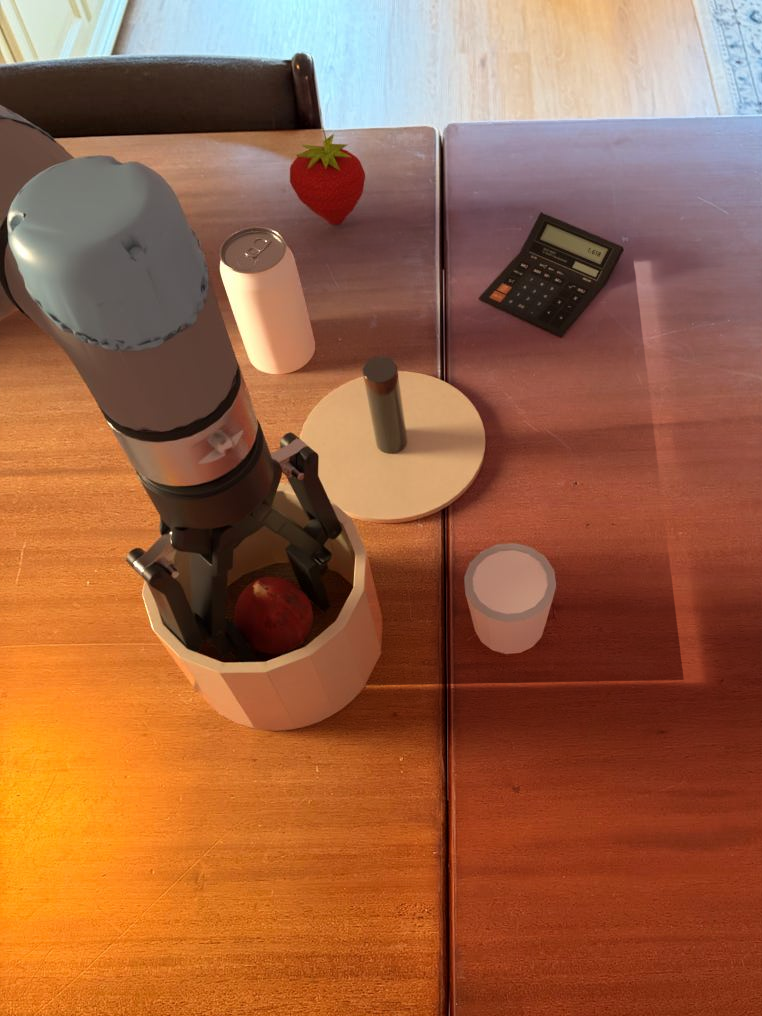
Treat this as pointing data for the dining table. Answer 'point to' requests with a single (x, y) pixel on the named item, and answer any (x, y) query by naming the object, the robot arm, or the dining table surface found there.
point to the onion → (273, 615)
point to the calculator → (554, 275)
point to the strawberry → (328, 180)
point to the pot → (302, 673)
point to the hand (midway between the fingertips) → (280, 628)
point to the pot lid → (395, 444)
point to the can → (267, 299)
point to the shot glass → (509, 596)
